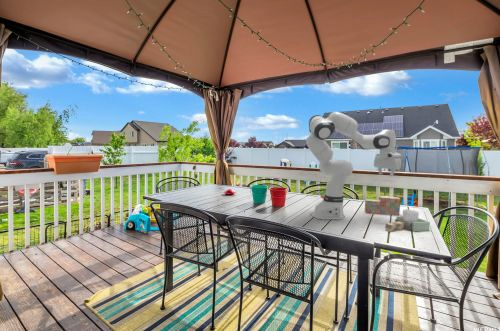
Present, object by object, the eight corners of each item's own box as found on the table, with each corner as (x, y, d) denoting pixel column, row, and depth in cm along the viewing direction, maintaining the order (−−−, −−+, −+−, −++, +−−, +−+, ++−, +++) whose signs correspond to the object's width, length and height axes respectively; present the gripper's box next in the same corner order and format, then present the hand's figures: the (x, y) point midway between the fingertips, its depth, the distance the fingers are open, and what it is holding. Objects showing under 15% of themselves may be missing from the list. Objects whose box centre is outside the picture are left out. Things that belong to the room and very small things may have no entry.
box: (413, 231, 138) (414, 223, 138) (396, 224, 151) (396, 216, 150) (429, 230, 141) (429, 221, 140) (410, 223, 153) (411, 215, 152)
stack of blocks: (365, 213, 175) (366, 196, 174) (364, 211, 181) (365, 194, 180) (399, 216, 169) (400, 198, 168) (396, 213, 175) (397, 196, 174)
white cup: (398, 225, 149) (399, 209, 148) (411, 225, 149) (412, 209, 148) (407, 229, 141) (409, 213, 140) (420, 229, 142) (422, 213, 141)
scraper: (394, 233, 135) (395, 226, 134) (380, 228, 143) (381, 221, 143) (411, 230, 140) (412, 223, 140) (396, 225, 149) (397, 218, 148)
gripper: (371, 153, 169) (370, 173, 170) (395, 155, 149) (393, 177, 150) (379, 153, 170) (378, 173, 172) (403, 155, 151) (402, 177, 152)
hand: (385, 175), depth 161 cm, fingers open, 8 cm apart
